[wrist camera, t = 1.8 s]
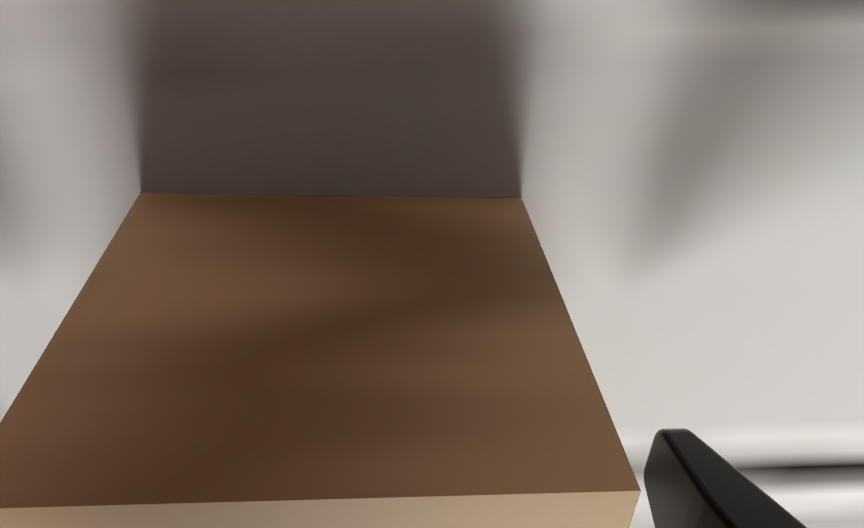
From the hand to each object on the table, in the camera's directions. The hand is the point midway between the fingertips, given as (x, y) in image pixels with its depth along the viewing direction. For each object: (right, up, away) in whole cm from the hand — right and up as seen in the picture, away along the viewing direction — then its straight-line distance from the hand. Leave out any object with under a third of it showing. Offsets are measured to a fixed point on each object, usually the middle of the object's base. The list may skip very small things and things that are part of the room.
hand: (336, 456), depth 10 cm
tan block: (0, +1, +2) cm, 3 cm away
